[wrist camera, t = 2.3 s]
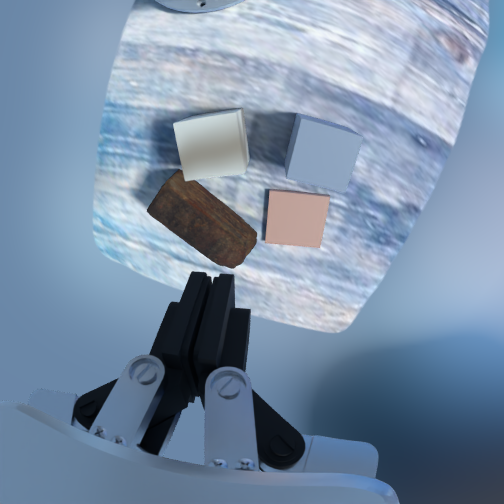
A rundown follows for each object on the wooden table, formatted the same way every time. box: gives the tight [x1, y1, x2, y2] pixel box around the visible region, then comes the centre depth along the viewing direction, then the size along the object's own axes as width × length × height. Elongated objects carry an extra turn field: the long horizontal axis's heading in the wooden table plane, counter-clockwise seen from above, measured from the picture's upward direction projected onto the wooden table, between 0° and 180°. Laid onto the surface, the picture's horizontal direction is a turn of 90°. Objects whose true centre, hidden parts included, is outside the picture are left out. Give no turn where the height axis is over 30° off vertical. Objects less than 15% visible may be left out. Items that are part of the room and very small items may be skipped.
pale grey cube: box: [173, 108, 250, 181], centre depth 22 cm, size 5×5×5 cm
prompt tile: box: [265, 189, 330, 248], centre depth 28 cm, size 6×6×1 cm
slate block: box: [284, 113, 363, 193], centre depth 22 cm, size 5×5×5 cm
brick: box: [147, 169, 257, 269], centre depth 27 cm, size 11×4×5 cm, turn 48°
